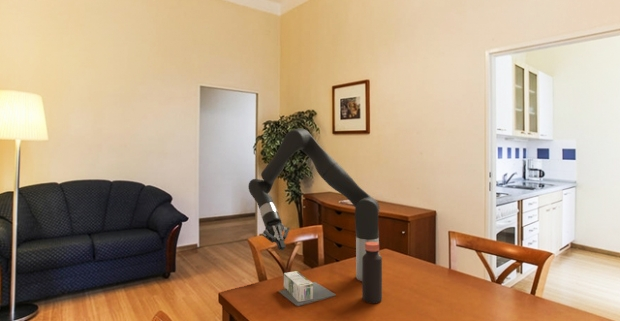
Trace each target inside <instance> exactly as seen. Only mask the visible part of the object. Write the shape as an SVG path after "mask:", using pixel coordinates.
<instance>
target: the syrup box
mask: <svg viewBox="0 0 620 321" xmlns="http://www.w3.org/2000/svg"><path fill="white" fill-rule="evenodd" d="M283 288H284V289H286V290H287V291H288V292H289V293H290V294H291V295H292V296H293V297H294V298H295V299H296V300H297V301H298V302H301V301H306V300H310V299H313V282H312V281H311V280H310V279H308V278H307V277H305V276H304V275H303V274H301V273H300V272H299V271H298V270H295V271H288V272H284V273H283Z"/></svg>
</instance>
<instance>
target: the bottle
mask: <svg viewBox="0 0 620 321" xmlns="http://www.w3.org/2000/svg"><path fill="white" fill-rule="evenodd" d="M365 251H366V254H365V255H364V256H363V257H362V281H361V282H362V283H361V285H362V286H361V287H362V288H361V289H362V294H361V295H362V301H364V302H366V303H369V304H379V303H381V302H382V300H383V258H382V256H381V254H380V242H379V243H377V242H366V243H365ZM378 252H379V254H378Z"/></svg>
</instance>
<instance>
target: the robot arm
mask: <svg viewBox="0 0 620 321" xmlns="http://www.w3.org/2000/svg"><path fill="white" fill-rule="evenodd" d="M300 150H301V151H302V152H304V154H306V156H308V158H309V159H310V161H312V164H313V165H314V168H315V170H316V172H317V173H318V175H319V176H320V177H321V178H322V180H323V181H324V182H325V183H326V184H327V185H328V186H329V187H331V189H333V190H335V191H336V192H338V193H339V194H341V195H343V197H345V198H346V199H347V200H348V201H349V202H350V203H351V204H352V205H353V206H354V223H355V224H354V226H355V227H354V228H355V235H356V236H355V240H356V241H355V248H356V249H355V251H356V252H355V255H356V258H355V263H356V264H355V266H356V267H355V268H356V269H355V275H356V277H355V278H356V280H357V281H360V282H362V257H363V256H364V255H365V254H366V251H365V243H366V242H377V243H379V244H380V241H379V240H380V232H379V212H380V205H379V202H378V201H377V200H376V199H375V198H374V197H372V196H371V195H370V194H368V193H367V192H366V191H365V190H364V189H363V188H362V187H361V186H359V184H358V183H357V182H356V181H355V180H354V178H352V176H350V175H349V173H347V171H346V170H345V169H344V168H343V167H342V166H341V165H340V164H339V163H338V162H337V161H336V160H335V159H334V158H333V157H332V156H331V155H330V154H329V153H328V152H327V151H326V150H324V148H323V147H322V146H321V145H320V143H318V142H317V141H316V139H315V138H314V137H313V136H312V134H311V133H310V132H309V131H308V130H307V129H304V128H301V127H300V128H294V129H291V130H289V131H288V132H287V133H286V134H285V136H284V138H283V140H282V142H281V144H280V146H279V148H278V150H277V151H276V153H275V154H274V156H273V157H272V159H271V160H270V161H269V162H268V164H266V166H265V167H264V169H263V170H262V172H261V174H260V176H261V178H262V179H258V178H253V179H251V180H250V181H249V182H248V191H249V193H250V195H251V197H252V198H253V199H254V201H255V202H256V203H257V205H258V208H259V213H260V216H261V220H262V222H263V224H264V227H265V230H263V231H262V234H261V235H262V237H264V238H265V239H267V240H268V241H269V242H271V243H276V246H277V249H278V250H280V251H284V250H285V249H286V244H285V241H286V240H287V238H288V234H289V231H290V230H291V229H290V227H286V226H284V225H285V224H283V223H282V219H281V216H280V214H279V210H278V209H277V207H276V205H275V202H274V199H273V197H272V196H271V194H270V192H271V190H272V189H273V188H272V187H273V185H274V183H275V181H276V179H278V177H279V176H280V175H281V173H282V172H283V170H284V168H285V165H286V164H287V161H289V159H290V158H291V157H292V156H293V155H294V154H295V153H296V152H298V151H300ZM283 233H284V234H283ZM378 254H379V255H380V251H379V252H378Z"/></svg>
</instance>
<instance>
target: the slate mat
mask: <svg viewBox="0 0 620 321" xmlns="http://www.w3.org/2000/svg"><path fill="white" fill-rule="evenodd" d="M312 283H313V299H310V300H306V301H301V302H298V301H297V300H296V299H295V298H294V297H293V296H292V295H291V294H290V293H289V292H288V291H287V290H286V289H285V288H284V289H280V290H278V293H280V294H281V295H282V296H283V297H285V299H287V300H288V301H289V302H291V303H292V304H293V305H295V306H296V307H301V306H305V305H308V304H311V303H316V302H319V301H322V300H326V299H329V298H333V297H336V293H334V292H332V291H331V290H329V289H328V288H326V287H324V286H322V285H321V284H319V283H317V282H316V281H314V282H312Z"/></svg>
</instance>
